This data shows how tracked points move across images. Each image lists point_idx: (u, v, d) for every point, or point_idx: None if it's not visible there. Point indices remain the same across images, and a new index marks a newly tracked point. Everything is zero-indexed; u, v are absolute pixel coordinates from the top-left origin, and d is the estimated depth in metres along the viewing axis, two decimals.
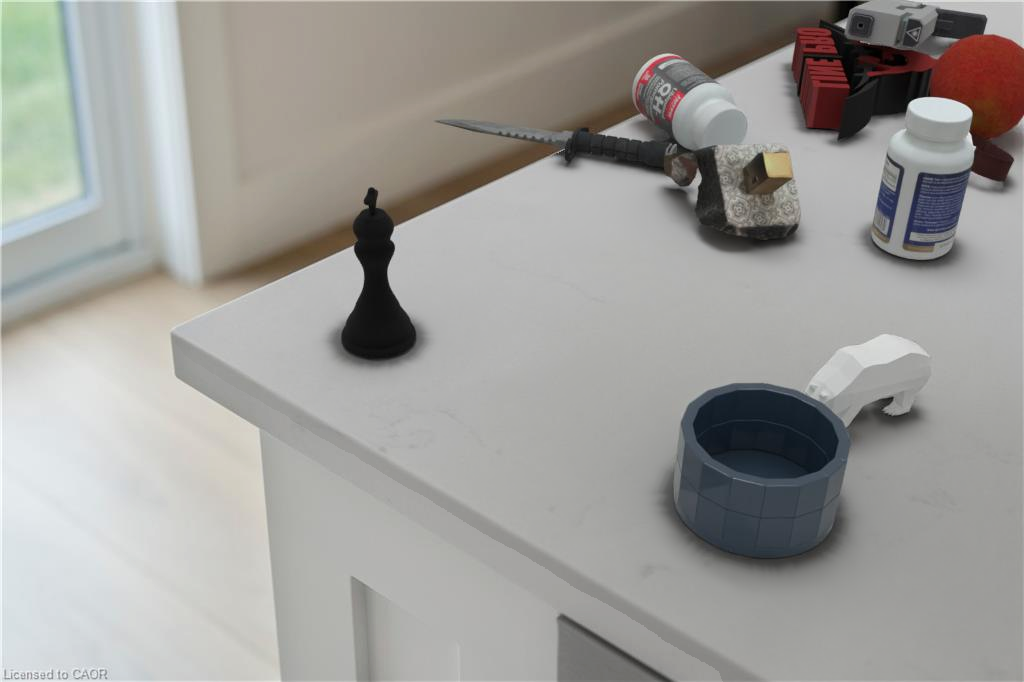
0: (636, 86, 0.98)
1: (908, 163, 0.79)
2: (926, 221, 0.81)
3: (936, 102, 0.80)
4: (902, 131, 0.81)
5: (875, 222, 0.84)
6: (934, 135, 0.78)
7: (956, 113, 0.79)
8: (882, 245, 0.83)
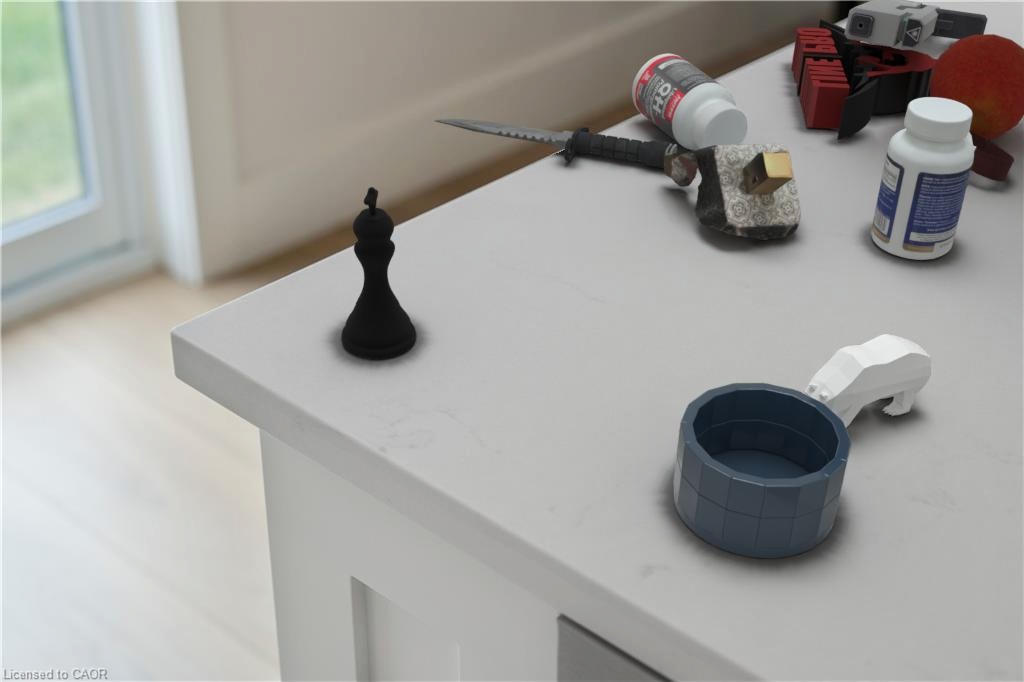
0: (636, 86, 0.98)
1: (908, 163, 0.79)
2: (926, 221, 0.81)
3: (936, 102, 0.80)
4: (902, 131, 0.81)
5: (875, 222, 0.84)
6: (934, 135, 0.78)
7: (956, 113, 0.79)
8: (882, 245, 0.83)
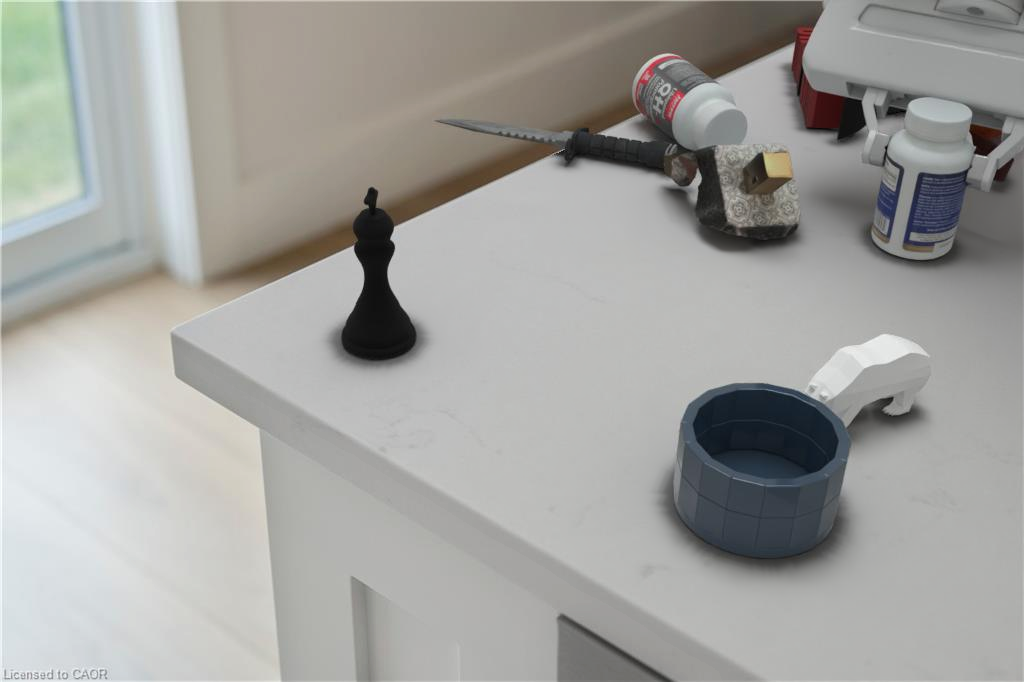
0: (636, 86, 0.98)
1: (907, 163, 0.79)
2: (926, 221, 0.81)
3: (936, 102, 0.80)
4: (902, 131, 0.81)
5: (874, 222, 0.84)
6: (933, 135, 0.78)
7: (956, 113, 0.79)
8: (882, 245, 0.83)
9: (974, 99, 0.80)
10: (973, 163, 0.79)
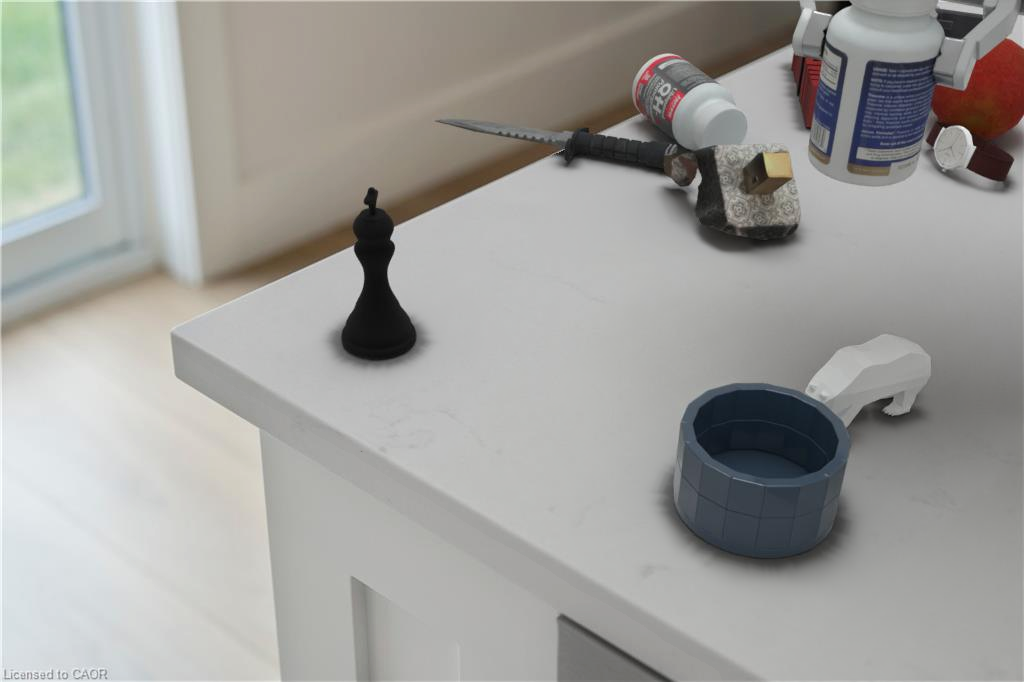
0: (636, 86, 0.98)
1: (852, 48, 0.57)
2: (878, 131, 0.59)
3: None
4: (847, 8, 0.59)
5: (811, 137, 0.62)
6: (887, 7, 0.56)
7: None
8: (821, 167, 0.61)
9: None
10: (943, 49, 0.57)
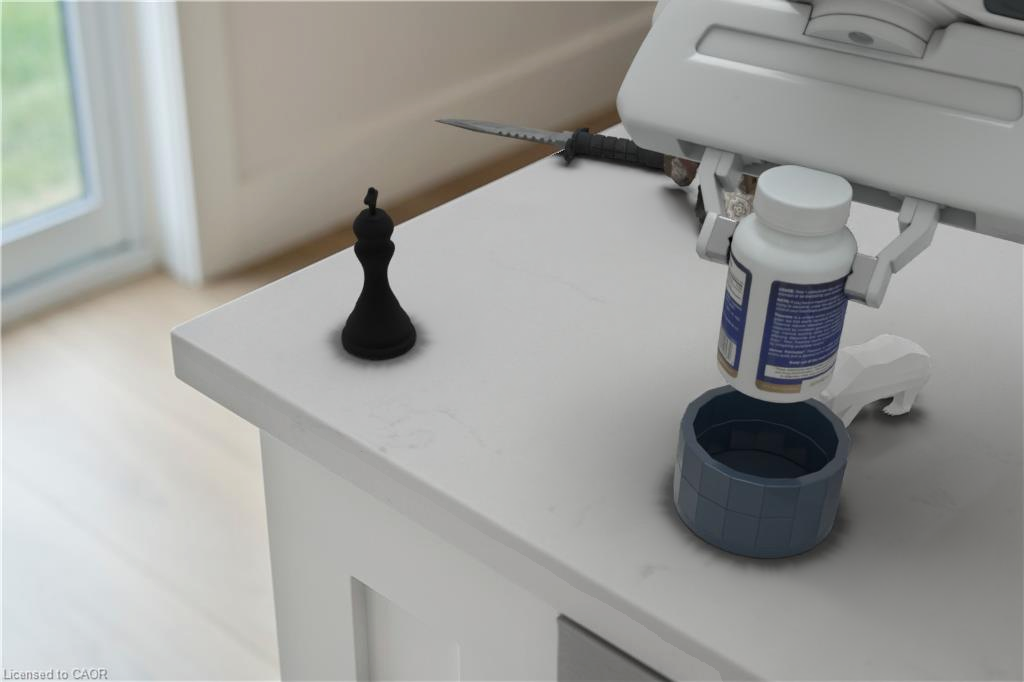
0: None
1: (756, 266, 0.53)
2: (787, 350, 0.54)
3: (801, 173, 0.53)
4: (753, 215, 0.55)
5: (719, 345, 0.57)
6: (792, 226, 0.52)
7: (827, 192, 0.52)
8: (728, 379, 0.57)
9: (857, 170, 0.53)
10: (855, 267, 0.53)
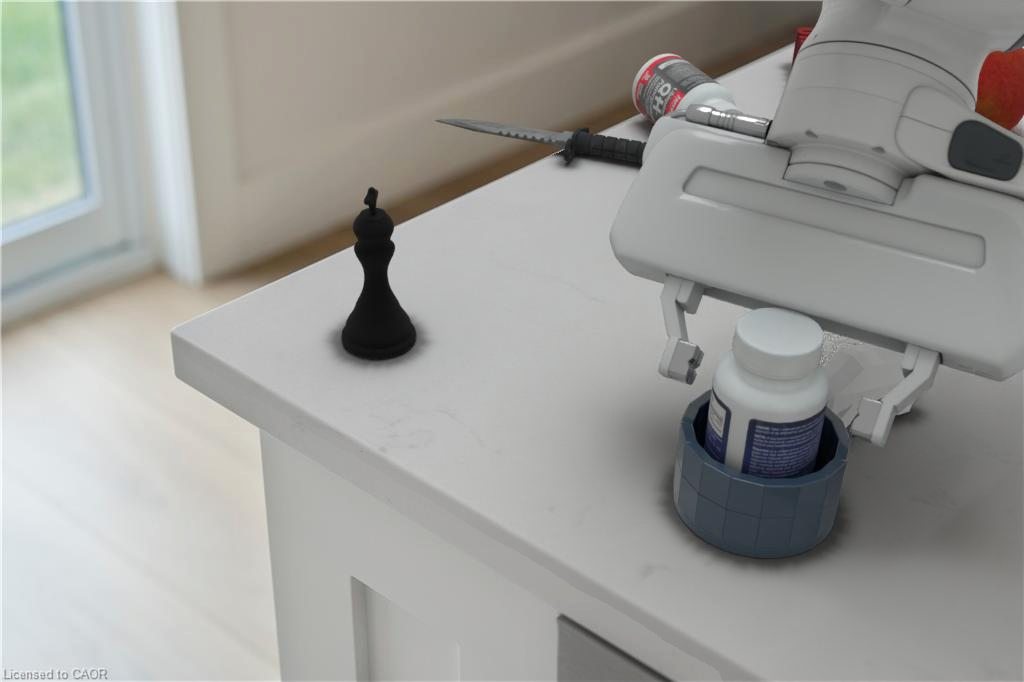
0: (636, 86, 0.98)
1: (735, 404, 0.57)
2: None
3: (776, 316, 0.58)
4: (733, 353, 0.59)
5: None
6: (767, 370, 0.56)
7: (800, 338, 0.56)
8: None
9: (832, 310, 0.57)
10: (860, 410, 0.56)
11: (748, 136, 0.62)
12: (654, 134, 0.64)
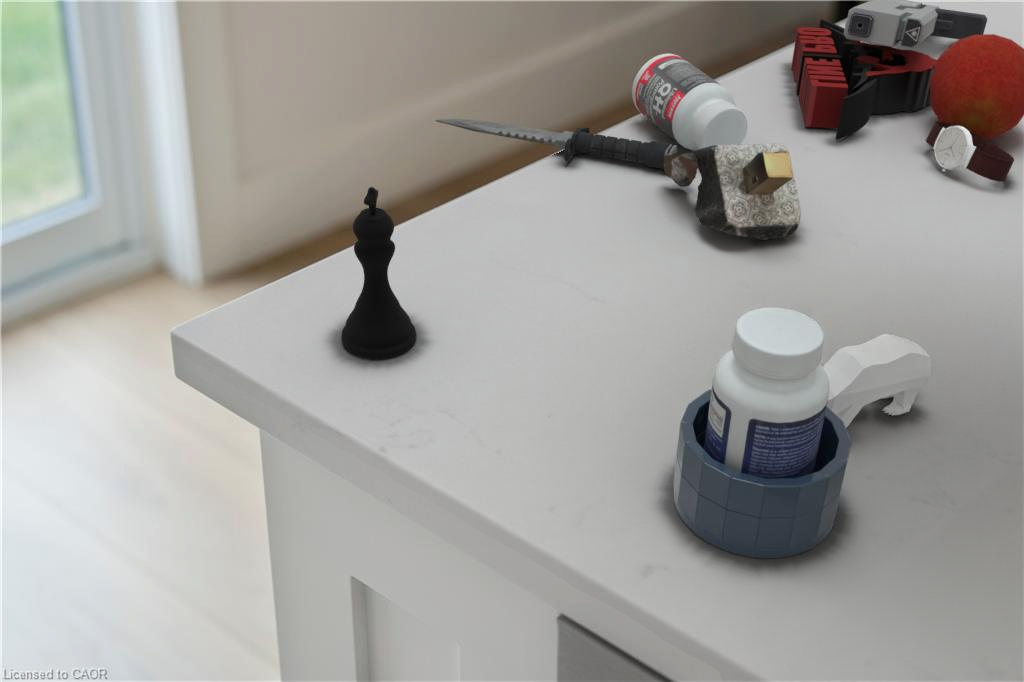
0: (636, 86, 0.98)
1: (735, 404, 0.57)
2: None
3: (776, 316, 0.58)
4: (733, 353, 0.59)
5: None
6: (767, 370, 0.56)
7: (800, 338, 0.56)
8: None
9: None
10: None
11: None
12: None
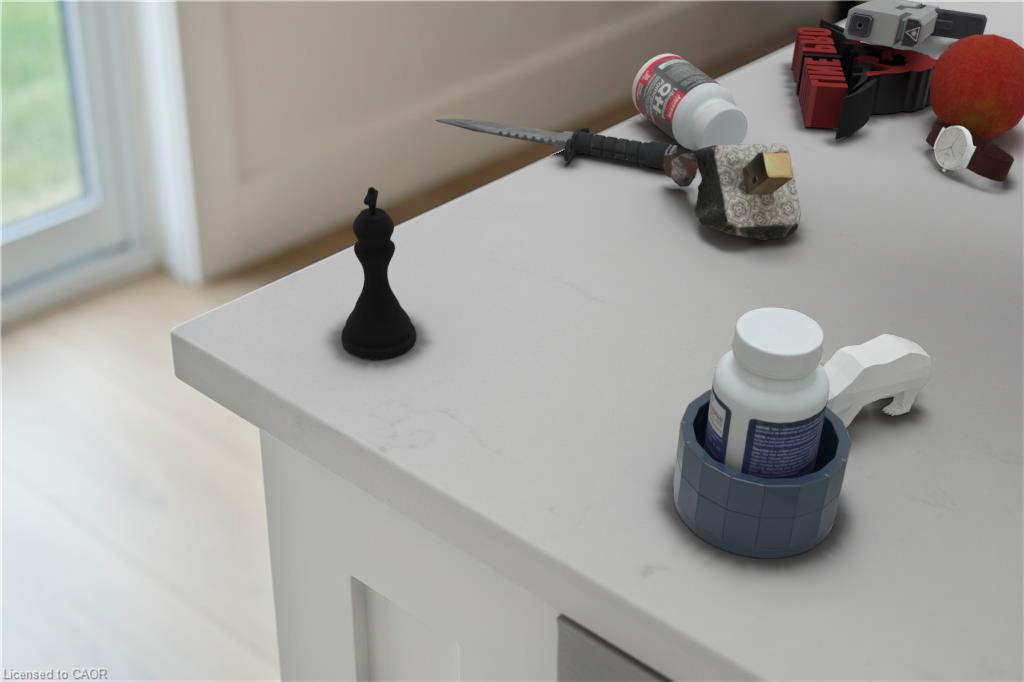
0: (636, 86, 0.98)
1: (735, 404, 0.57)
2: None
3: (776, 316, 0.58)
4: (733, 353, 0.59)
5: None
6: (767, 370, 0.56)
7: (800, 338, 0.56)
8: None
9: None
10: None
11: None
12: None
